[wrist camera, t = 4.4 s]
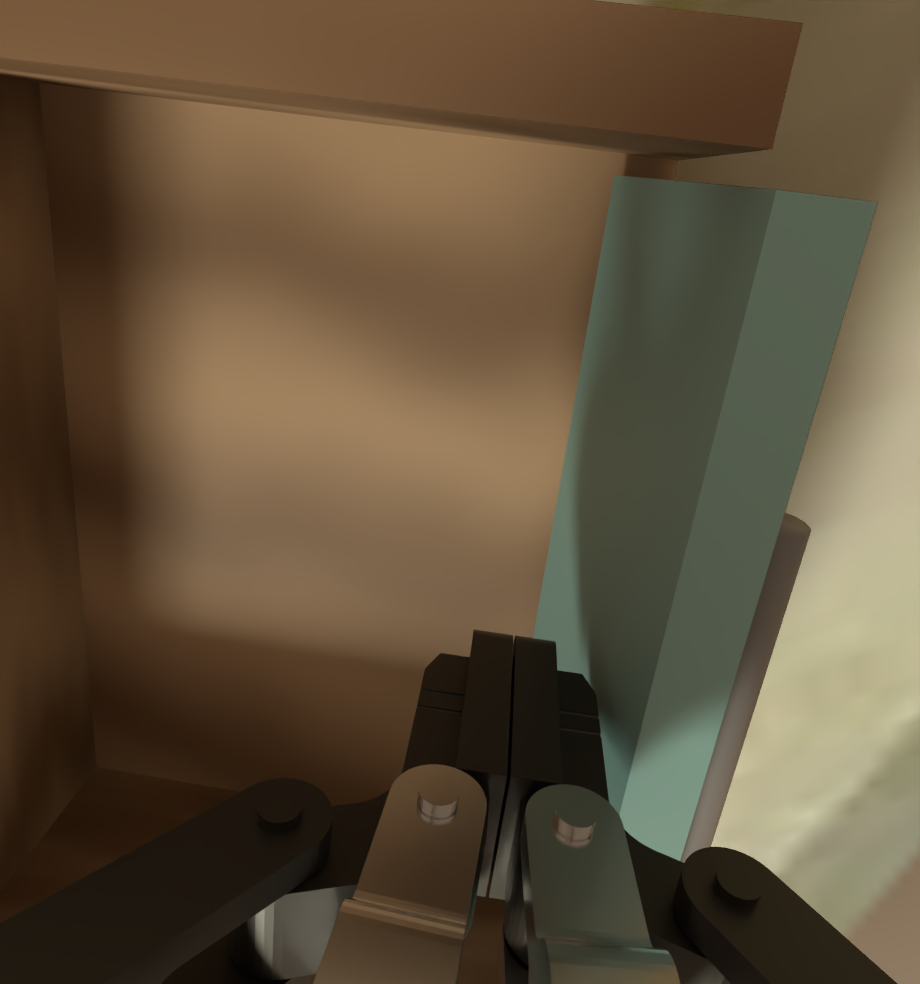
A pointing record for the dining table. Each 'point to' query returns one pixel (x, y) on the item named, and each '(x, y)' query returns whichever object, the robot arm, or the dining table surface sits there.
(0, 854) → the box
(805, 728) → the dining table surface
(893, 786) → the dining table surface
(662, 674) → the panel
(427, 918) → the robot arm
